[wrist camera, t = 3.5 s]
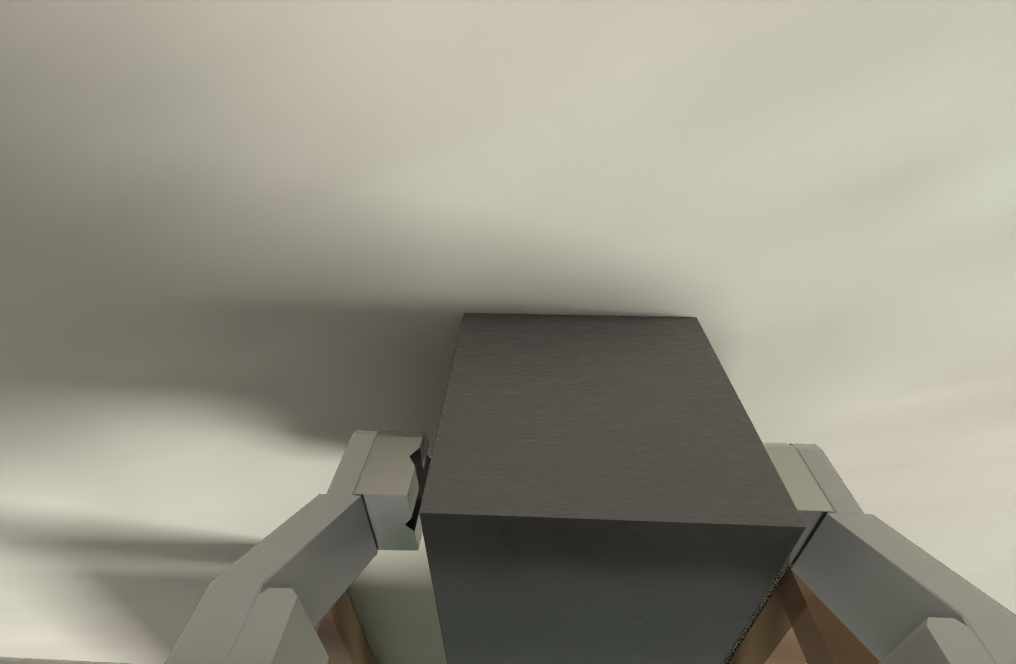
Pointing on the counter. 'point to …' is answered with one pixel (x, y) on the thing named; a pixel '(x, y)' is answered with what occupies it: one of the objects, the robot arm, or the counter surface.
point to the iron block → (598, 495)
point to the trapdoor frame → (758, 660)
